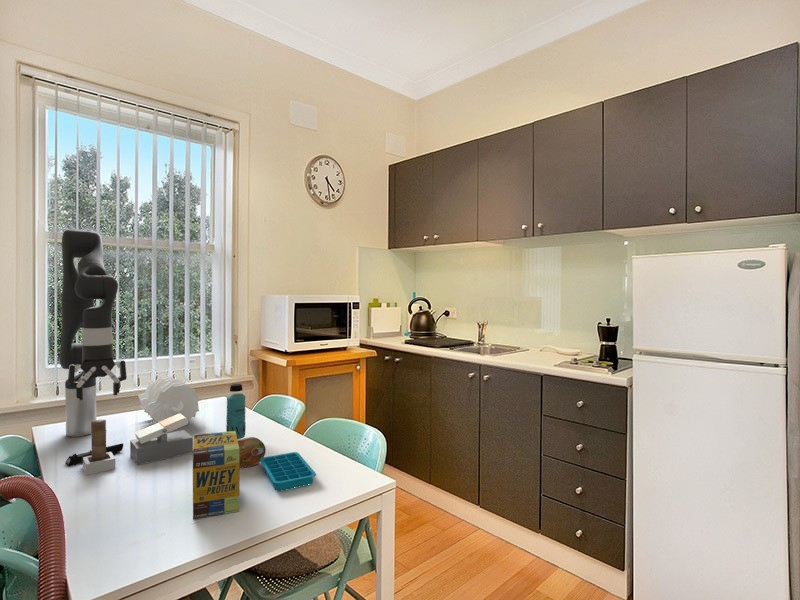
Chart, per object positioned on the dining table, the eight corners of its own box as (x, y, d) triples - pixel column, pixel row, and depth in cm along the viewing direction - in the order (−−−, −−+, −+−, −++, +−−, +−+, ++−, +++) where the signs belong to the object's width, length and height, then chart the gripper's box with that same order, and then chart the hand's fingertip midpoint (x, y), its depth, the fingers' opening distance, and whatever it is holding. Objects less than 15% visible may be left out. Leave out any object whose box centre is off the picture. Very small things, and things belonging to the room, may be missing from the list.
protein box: (192, 520, 104) (192, 454, 104) (194, 492, 118) (193, 434, 118) (240, 511, 108) (240, 448, 108) (236, 485, 122) (236, 429, 122)
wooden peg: (91, 467, 134) (90, 421, 133) (105, 464, 136) (104, 418, 136) (92, 471, 131) (92, 423, 131) (107, 468, 133) (106, 421, 133)
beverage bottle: (221, 442, 156) (221, 385, 155) (235, 436, 162) (235, 381, 162) (236, 445, 153) (236, 387, 153) (250, 439, 160) (249, 383, 159)
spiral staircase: (172, 423, 190) (191, 435, 171) (129, 412, 180) (143, 423, 161) (191, 382, 196) (211, 389, 177) (150, 369, 185) (166, 375, 166)
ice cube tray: (274, 495, 118) (274, 483, 118) (259, 467, 135) (259, 457, 135) (317, 486, 123) (317, 475, 123) (297, 460, 141) (297, 451, 141)
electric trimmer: (125, 453, 147) (125, 444, 146) (68, 467, 134) (68, 457, 134) (120, 451, 149) (121, 441, 149) (64, 464, 137) (64, 454, 137)
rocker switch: (136, 437, 143) (134, 431, 143) (181, 418, 152) (179, 412, 152) (141, 444, 138) (139, 437, 137) (188, 423, 146) (186, 417, 146)
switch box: (130, 455, 143) (130, 434, 143) (183, 444, 154) (183, 424, 154) (137, 465, 136) (136, 442, 136) (192, 452, 146) (192, 431, 146)
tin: (212, 473, 130) (212, 444, 130) (211, 469, 133) (211, 441, 133) (265, 464, 137) (265, 437, 137) (263, 460, 140) (263, 434, 140)
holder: (82, 467, 134) (82, 457, 134) (111, 461, 139) (111, 451, 139) (86, 474, 129) (86, 464, 128) (115, 468, 133) (115, 458, 133)
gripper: (123, 340, 140) (123, 391, 141) (66, 343, 131) (67, 398, 131) (127, 342, 135) (128, 396, 135) (69, 346, 125) (69, 403, 126)
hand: (98, 397), depth 133 cm, fingers open, 8 cm apart
